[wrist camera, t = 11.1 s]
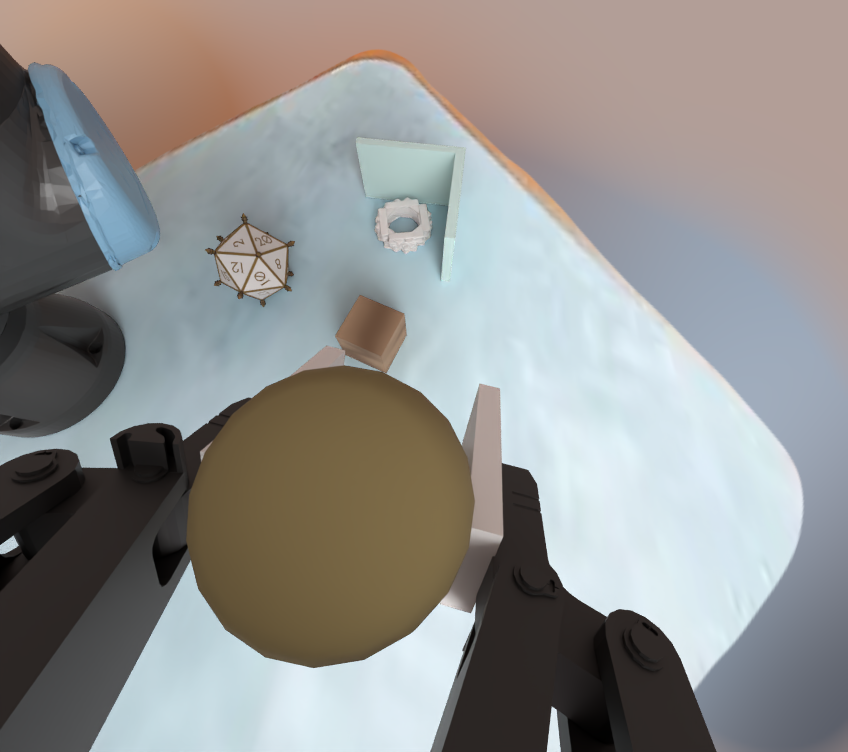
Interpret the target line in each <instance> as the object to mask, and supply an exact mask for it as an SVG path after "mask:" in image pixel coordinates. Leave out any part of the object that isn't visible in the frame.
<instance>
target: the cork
mask: <svg viewBox="0 0 848 752" xmlns="http://www.w3.org/2000/svg"><path fill="white" fill-rule="evenodd" d="M474 505H475V498H474V492H473V486H472V480H471V475H470V469H469V463H468V457H467V455H466V453H465V451H464V449H463V447H462V445H461V444H460V442H459V440H458V438H457V436H456V434H455V432H454V430H453V428H452V426H451V424H450V422H449V420H448V419H447V418H446V417H445V416H444V415H443V414H442V413H441V412H440V411H439V410H438V409H437V408H436V407H435V406H434V405H433V404H432V403H431V402H430V401H429V400H428V399H427V398H426V397H425V396H424V395H423V394H422V393H421V392H419V391H418V390H416V389H414V388H412V387H410V386H408V385H406V384H404V383H402V382H400V381H398V380H397V379H395V378H393V377H391V376H389V375H387V374H385V373H383V372H379V371H373V370H368V369H362V368H356V367H350V366H344V365H343V366H335V367H327V368H319V369H311V370H304V371H301V372H299V373H297V374H295V375H292V376H290V377H288V378H285V379H283V380H281V381H278V382H276V383H274V384H271V385H269V386H267V387H265V388H264V389H263V390H262V391H260V392H259V393H258V394H257V395H255V396H254V397H253V398H252V399H250V400H249V401H248V402H247V403H245V404H244V405H243V406H242V407H241V408H239V409H238V410H237V411H236V412H234V413H233V414H232V415H231V417H230V418H229V420H228V421H227V422H226V424H225V425H224V427H223V428H222V429H221V431H220V432H219V433H218V435H217V436H216V438H215V439H214V440H213V442H212V443H211V445H210V446H209V447H208V449H207V450H206V452H205V453H204V456H203V459H202V462H201V464H200V467H199V470H198V472H197V475H196V478H195V480H194V483H193V486H192V489H191V491H190V494H189V505H188V520H187V535H186V542H187V546H188V550H189V554H190V558H191V562H192V566H193V570H194V574H195V578H196V582H197V586H198V589H199V591H200V592H201V594H202V595H203V597H204V598H205V600H206V601H207V603H208V604H209V606H210V607H211V609H212V610H213V612H214V613H215V615H216V616H217V618H218V619H219V621H220V622H221V624H222V625H223V627H224V628H225V630H227V631H228V632H230V633H231V634H232V635H234V636H235V637H237V638H238V639H240V640H241V641H243V642H244V643H245V644H247V645H248V646H250V647H251V648H253V649H254V650H255V651H257V652H258V653H260V654H261V655H263V656H264V657H266V658H271V659H275V660H280V661H284V662H289V663H293V664H298V665H302V666H307V667H311V668H317V667H323V666H329V665H335V664H342V663H348V662H354V661H360V660H365V659H366V658H368V657H370V656H372V655H374V654H375V653H377V652H379V651H381V650H382V649H384V648H386V647H388V646H389V645H391V644H393V643H395V642H397V641H398V640H400V639H402V638H404V637H405V636H407V635H409V634H410V633H412V632H413V631H414V630H415V629H416V628H417V627H418V626H419V625H420V624H421V623H422V622H423V620H424V619H425V618H426V617H427V616H428V615H429V614H430V613H431V612H432V610H433V609H434V608H435V607H436V606H437V605H438V604H439V603H440V602H441V600H442V599H443V598H444V597H445V596H446V595H447V594H448V593H449V591H450V588H451V586H452V584H453V582H454V580H455V577H456V575H457V573H458V571H459V569H460V566H461V564H462V562H463V560H464V557H465V555H466V553H467V551H468V549H469V544H470V536H471V528H472V520H473V513H474Z"/></svg>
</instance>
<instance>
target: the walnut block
mask: <svg viewBox="0 0 848 752" xmlns="http://www.w3.org/2000/svg"><path fill="white" fill-rule="evenodd" d="M406 335H407V334H406V325H405V315H404V313H401V312H399V311H397V310H394V309H392V308H389V307H387V306H385V305H382V304H380V303H378V302H375V301H373V300H371V299H368V298H366V297H364V296H361V295H360V296H359V297H358V299H357V301H356V302H355V304H354V305H353V307H352V309H351V310H350V312H349V314H348V315H347V317H346V319H345V320H344V322H343V324H342V325H341V327H340V329H339V330H338V332H337V334H336V335H335V336H336V338H337V340H338V342H339V344H340V346H341V347H342V349H343V350H345V355H347V356H349V357H351V358H354V359H356V360H358V361H360V362H362V363H365V364H367V365H369V366H371V367H373V368H376V369H378V370H380V371H382V372H384V373H387V371H388V369H389V367H390V365H391V363H392V361H393V360H394V358H395V356H396V354H397V352H398V350H399V348H400V346H401V345H402V343H403V341H404V339H405V337H406Z"/></svg>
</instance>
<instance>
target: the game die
mask: <svg viewBox="0 0 848 752" xmlns="http://www.w3.org/2000/svg"><path fill="white" fill-rule="evenodd" d="M241 218H242V221H243V224H242V225H241V226H239V227H238V228H237V229H236V230H234V231H233V232H232V233H231V234H230V235H228V236H227V237H226V238H225V239H223V237H221V236H217V240H219V241H220V242H221V243H220V244H219V246H218V247H217V248H216V249H215V251H214V250H213V249H210V248H208V249H205V250H206V251H207V252H208V254H214V256H215V260H216V264H217V269H218V273H219V277H220V280H219V281H218V280H217V281H215V284H214V286H219V285H221V283H223V284H225V285H227V286H229V287H231V288H232V289H234V290H236V291H238V292H240V293H238V295H237V296H238V299H241V298H243V294H245V295H248V296H250V297H253V298H256V299H259V300H261V301H260V303H261V304H260V305H262V306H263V307H264V305H265V304H266V303H265V301H264V299H265V298H267V297H269V296H271V295H272V294H274V293H276V292H277V291H279V290H281V289H282V288H285V290H287V291H292V290H291V287H289V286H288V285H286V283H287V277H288V275H289V276H293V275H294V274H293V273H292V271H291V272H290V271H289V272H288V247H290V246H291V247H292V246H294V243H295V241H290V242H288V244H286V243H284V242H282V241H280V240H278V239H276V238H274V237H273V236H271V235H269V233H268V232H263V231H261V230H260V229H258V228H256V227H254V226H252V225H250V224H248V223H247V220H248V219H247V217H246V216H245V214H244V213H243V215H242V217H241Z"/></svg>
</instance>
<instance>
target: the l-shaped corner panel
mask: <svg viewBox="0 0 848 752" xmlns="http://www.w3.org/2000/svg"><path fill="white" fill-rule="evenodd" d="M356 148H357V153H358V158H359V163H360V169H361V174H362V179H363V184H364V189H365V195H366V197H367V198H377V199H387V200H394V201H393V202H386V203H385V205H384V208H380V209H378V216H377V217H376V218H375V219H376V220H375V222H376V223H377V225H376V226H375V229H374V230H375V232H376V233H377V236H378V240H379V241H383V242H384V248H388V249H392V250H393V251H394V252H398V251H399V250H402V251H403V252H404V253H405V254H407V253H408V252H410V251H414V252H415V251H417V246H418V245H421V246H423V245H425V241H426V240H427V239H429V238H430V236H431V234H430V233H431V231H430V230H431V229H432V228H433V227H432V225H431V224H432V221H431V218H432V217H431V213H430V212H429V211H427V206H426V204H420V205H419V203H427V204H436V205H446V206H449V207H448V214H447V222H446V230H445V238H444V250H443V262H442V274H441V281H450V276H451V268H452V260H453V252H454V244H455V236H456V227H457V219H458V210H459V202H460V193H461V185H462V176H463V168H464V159H465V151H466V148H464V147H453V146H443V145H432V144H422V143H411V142H401V141H390V140H380V139H369V138H359V137H357V140H356ZM399 217H405V218H412V219H413V220H414V221H415V222H416V223H417V224H418V225H419V226H418V227H417V228H416V229H414V230H413V231H412V232H403V233H395V232H394V231H393V230H391V229H390V228H389V226H390V223H391V222H393V221H394V220H396V219H397V218H399Z"/></svg>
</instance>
